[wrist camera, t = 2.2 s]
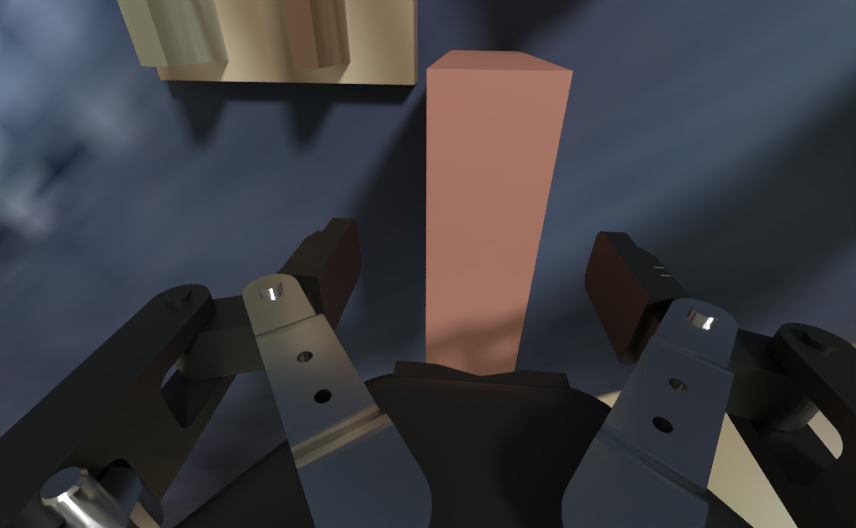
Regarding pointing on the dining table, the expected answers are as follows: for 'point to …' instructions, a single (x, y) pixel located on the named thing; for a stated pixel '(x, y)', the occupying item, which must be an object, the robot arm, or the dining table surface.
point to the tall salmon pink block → (486, 200)
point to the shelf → (277, 40)
